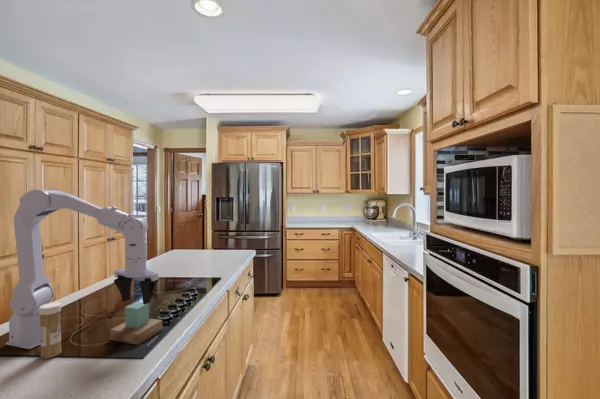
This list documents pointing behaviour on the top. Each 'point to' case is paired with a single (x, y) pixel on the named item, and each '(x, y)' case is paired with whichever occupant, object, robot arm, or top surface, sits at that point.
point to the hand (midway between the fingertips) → (136, 301)
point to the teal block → (136, 315)
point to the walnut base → (135, 332)
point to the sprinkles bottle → (50, 330)
